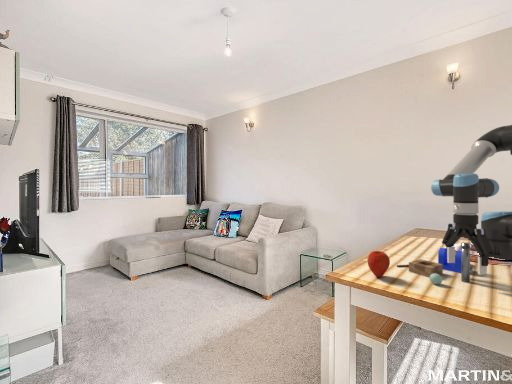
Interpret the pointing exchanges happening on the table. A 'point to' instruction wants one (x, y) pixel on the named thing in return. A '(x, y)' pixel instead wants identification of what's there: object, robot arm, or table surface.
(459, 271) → the bracket
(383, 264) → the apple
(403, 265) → the thin dark grey rod
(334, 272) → the table surface
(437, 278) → the loose teal bead
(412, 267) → the square wooden ring
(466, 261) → the grey metal cylinder rod
